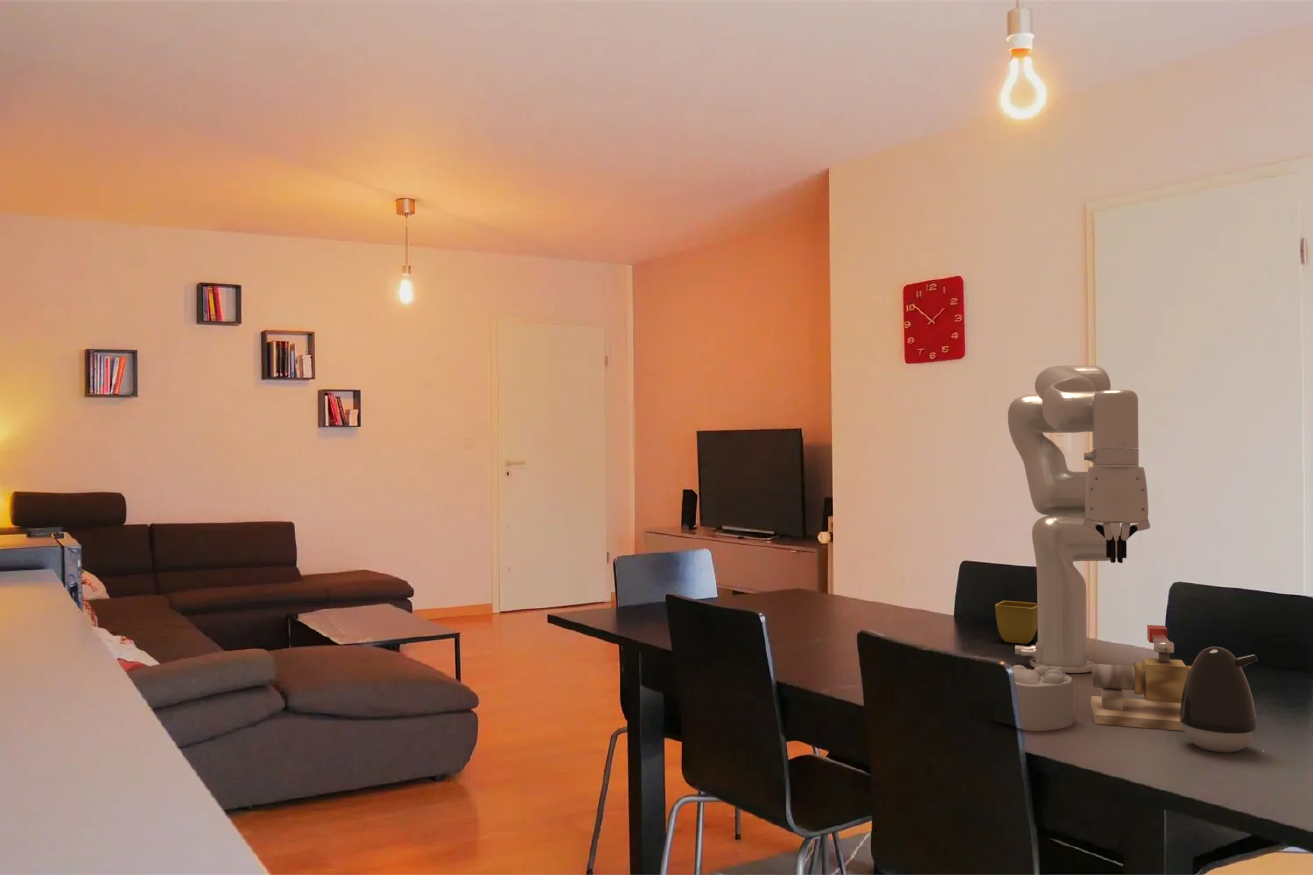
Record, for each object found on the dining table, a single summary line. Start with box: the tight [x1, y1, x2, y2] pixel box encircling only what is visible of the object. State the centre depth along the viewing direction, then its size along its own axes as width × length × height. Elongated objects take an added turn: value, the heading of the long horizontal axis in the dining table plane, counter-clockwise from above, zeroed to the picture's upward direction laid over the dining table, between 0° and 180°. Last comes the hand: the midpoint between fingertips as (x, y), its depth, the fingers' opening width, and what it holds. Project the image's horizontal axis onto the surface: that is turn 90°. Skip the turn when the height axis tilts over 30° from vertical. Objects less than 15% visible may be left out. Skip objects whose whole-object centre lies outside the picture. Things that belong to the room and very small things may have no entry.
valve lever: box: [1146, 624, 1175, 654], centre depth 178 cm, size 14×3×2 cm, turn 160°
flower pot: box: [994, 600, 1038, 645], centre depth 244 cm, size 9×9×9 cm
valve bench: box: [1090, 652, 1192, 732], centre depth 173 cm, size 22×14×11 cm, turn 70°
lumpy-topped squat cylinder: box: [1011, 664, 1074, 732], centre depth 172 cm, size 10×13×9 cm
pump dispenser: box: [1180, 646, 1258, 754], centre depth 156 cm, size 10×10×15 cm
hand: (1116, 561), depth 184 cm, fingers closed
